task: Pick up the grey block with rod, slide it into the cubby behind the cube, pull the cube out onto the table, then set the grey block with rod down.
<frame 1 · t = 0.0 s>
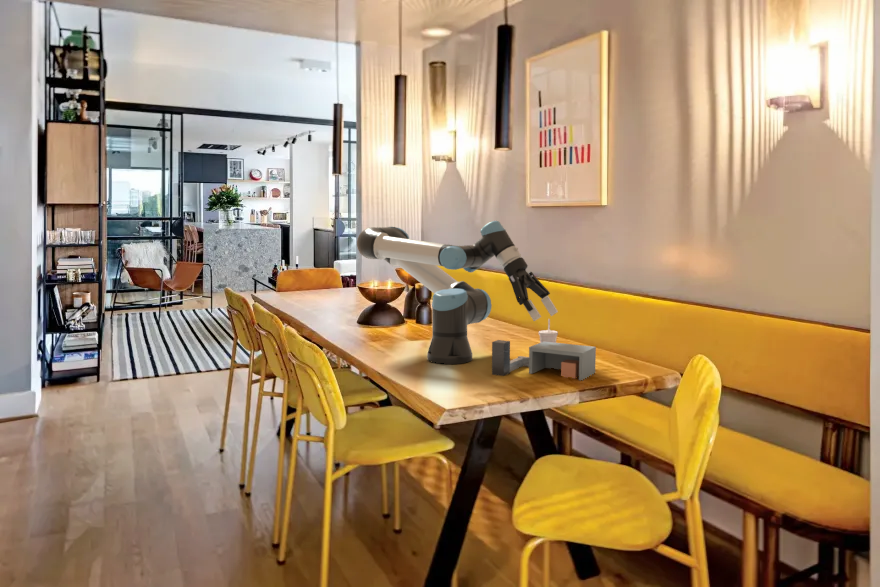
hand: (546, 316, 213), 15 cm above the table, tool tilted 35°, fingers open, 13 cm apart
cubby: (562, 373, 199), on the table
smoothie: (547, 360, 218), on the table
grey block with rod: (500, 373, 199), on the table
cube: (571, 376, 196), on the table
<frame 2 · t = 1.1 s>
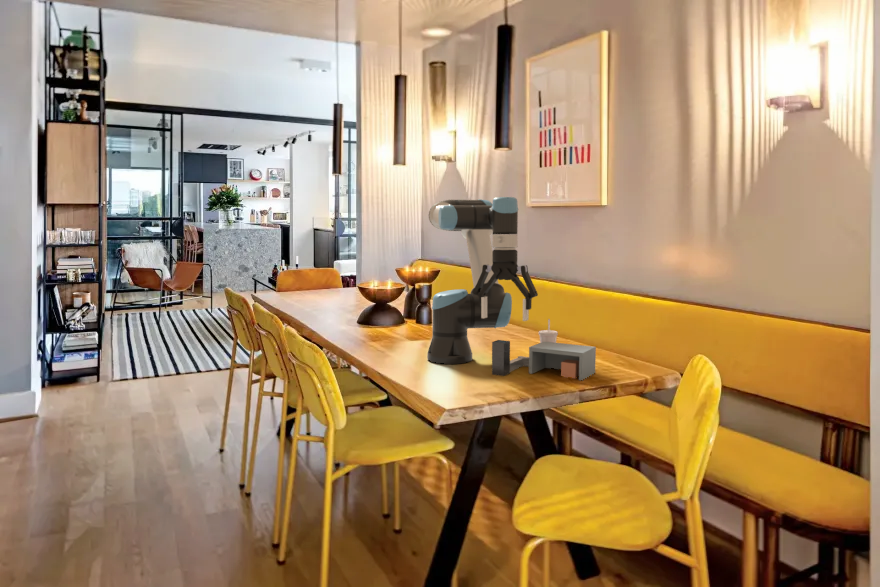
hand: (504, 319, 198), 17 cm above the table, tool pointing down, fingers open, 13 cm apart
nothing on the table moved.
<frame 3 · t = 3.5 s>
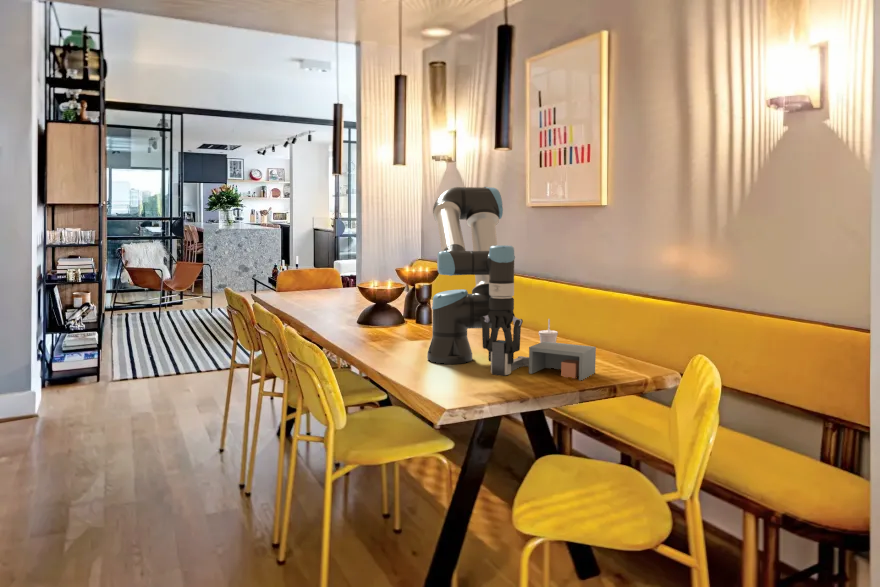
hand: (500, 373, 199), 0 cm above the table, tool pointing down, fingers closed on grey block with rod, 4 cm apart
grey block with rod: (500, 373, 199), on the table, touching gripper
everything else where it was.
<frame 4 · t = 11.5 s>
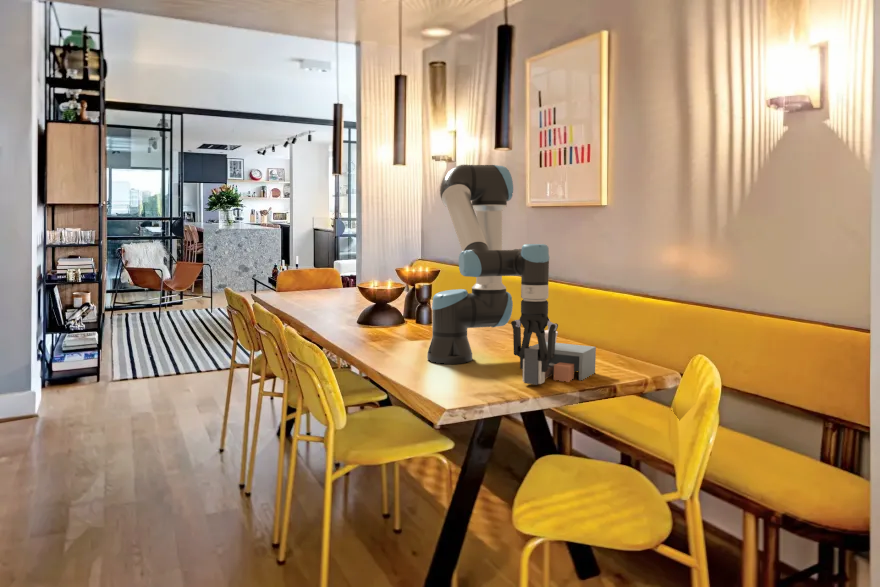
hand: (533, 381, 184), 1 cm above the table, tool pointing down, fingers closed on grey block with rod, 4 cm apart
grey block with rod: (533, 382, 184), point 1 cm above the table, touching gripper
cube: (563, 379, 192), on the table
everything else where it was.
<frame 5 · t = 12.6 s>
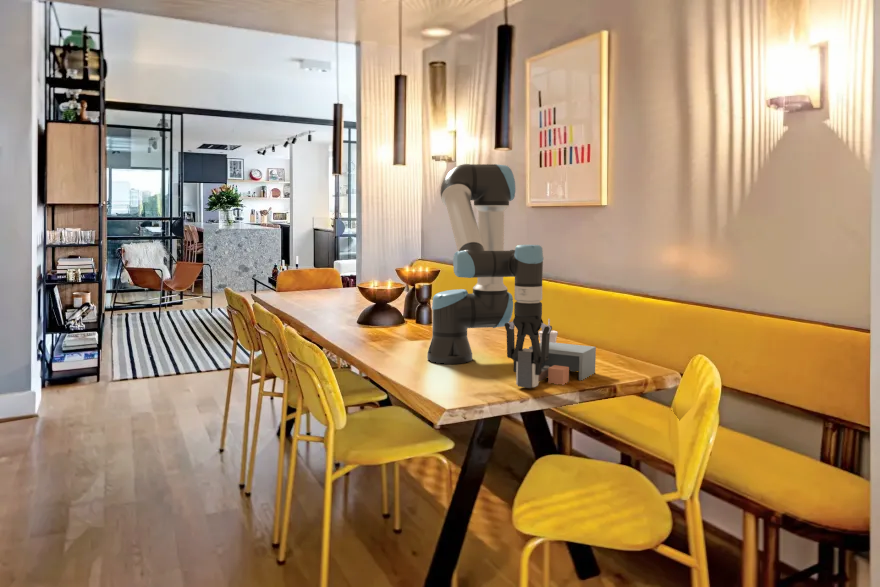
hand: (527, 384, 181), 1 cm above the table, tool pointing down, fingers closed on grey block with rod, 4 cm apart
grey block with rod: (527, 385, 181), point 1 cm above the table, touching gripper
cube: (558, 382, 188), on the table
everything else where it was.
when the fingers open (1 cm above the table, at t = 16.5 s): grey block with rod stays where it is, on the table.
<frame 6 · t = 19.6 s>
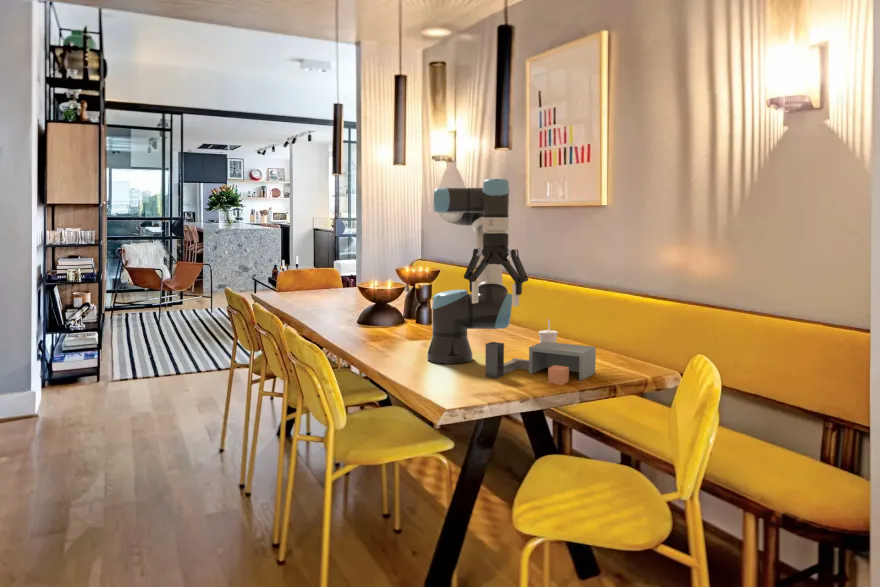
hand: (495, 304, 193), 22 cm above the table, tool pointing down, fingers open, 13 cm apart
grey block with rod: (494, 376, 196), on the table
everything else where it was.
at the end: cube inside the target area (12.6 cm from its centre), on the table; the gripper is holding nothing; grey block with rod on the table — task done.
